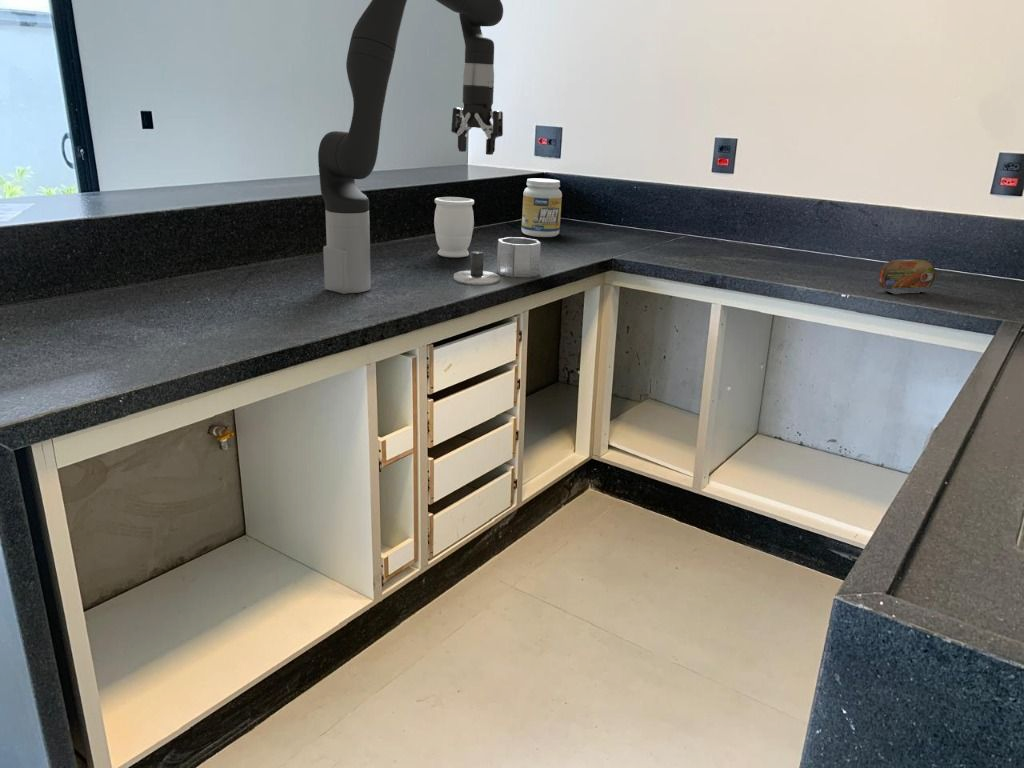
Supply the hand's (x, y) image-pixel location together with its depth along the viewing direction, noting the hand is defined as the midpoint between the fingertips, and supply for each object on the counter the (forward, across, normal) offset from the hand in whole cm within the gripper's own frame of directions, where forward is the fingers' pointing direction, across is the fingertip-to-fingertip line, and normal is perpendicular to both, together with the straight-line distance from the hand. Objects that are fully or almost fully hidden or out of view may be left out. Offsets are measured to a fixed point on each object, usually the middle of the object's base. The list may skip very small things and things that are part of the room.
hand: (475, 153), depth 199 cm
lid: (+28, +13, -15) cm, 34 cm away
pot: (+28, +16, -2) cm, 32 cm away
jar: (+28, -9, +3) cm, 29 cm away
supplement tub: (+27, -11, +49) cm, 57 cm away
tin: (+27, +96, +51) cm, 113 cm away
